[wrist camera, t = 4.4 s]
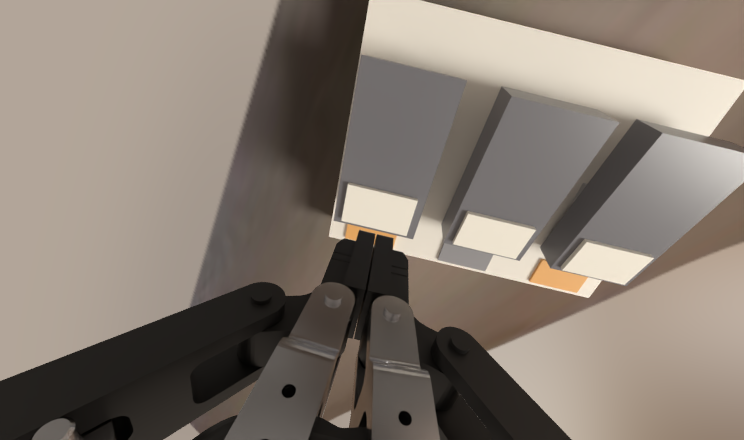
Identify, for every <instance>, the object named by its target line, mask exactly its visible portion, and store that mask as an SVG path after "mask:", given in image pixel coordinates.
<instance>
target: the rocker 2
mask: <svg viewBox="0 0 744 440" xmlns="http://www.w3.org/2000/svg"><path fill="white" fill-rule="evenodd" d="M743 182H744V147H741V146H739V145H737V144H734V143H732V142H729V141H724V140H720V139H716V138H712V137H708V136H704V135H700V134H696V133H692V132H688V131H684V130H679V129H675V128H671V127H667V126H663V125H659V124H655V123H651V122H647V121H643V120H639V119H636V120H635V121H634V123H633V124H632V125H631V127H630V128H629V129H628V131H627V132H626V133H625V135H624V136H623V137H622V139H621V140H620V141H619V143H618V144H617V145H616V147H615V148H614V149H613V151H612V152H611V153H610V155H609V156H608V157H607V159H606V160H605V161H604V163H603V164H602V165H601V167H600V168H599V169H598V171H597V172H596V173H595V175H594V176H593V177H592V179H591V180H590V181H589V183H588V184H587V185H586V187H585V188H584V189H583V190H582V192H581V193H580V194H579V196H578V197H577V198H576V200H575V201H574V202H573V204H572V205H571V206H570V208H569V209H568V210H567V212H566V213H565V214H564V216H563V217H562V218H561V220H560V221H559V222H558V224H557V225H556V226H555V228H554V229H553V230H552V232H551V233H550V234H549V236H548V237H547V238H546V240H545V241H544V242H543V244H542V245H541V246H540V249H541V251H542V253H543V255H544V257H545V259H546V261H547V263H548V265H549V267H550V268H551V269H556V270H560V271H564V272H568V273H573V274H577V275H581V276H585V277H589V278H594V279H598V280H602V281H606V282H611V283H615V284H619V285H623V286H627V285H628V284H629V283H630V282H631V281H632V280H633V279H635V278H636V277H637V276H638V275H639V274H640V273H641V272H642V271H644V270H645V269H646V268H647V267H648V266H649V265H650V264H651V263H653V262H654V261H655V260H656V259H657V258H658V257H659V256H661V255H662V254H663V253H664V252H665V251H666V250H667V249H668V248H670V247H671V246H672V245H673V244H674V243H675V242H676V241H678V240H679V239H680V238H681V237H682V236H683V235H684V234H685V233H687V232H688V231H689V230H690V229H691V228H692V227H693V226H694V225H696V224H697V223H698V222H699V221H700V220H701V219H702V218H704V217H705V216H706V215H707V214H708V213H709V212H710V211H711V210H713V209H714V208H715V207H716V206H717V205H718V204H719V203H721V202H722V201H723V200H724V199H725V198H726V197H727V196H728V195H730V194H731V193H732V192H733V191H734V190H735V189H736V188H737V187H739V186H740V185H741V184H742V183H743Z"/></svg>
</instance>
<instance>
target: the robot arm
mask: <svg viewBox="0 0 744 440" xmlns="http://www.w3.org/2000/svg"><path fill="white" fill-rule="evenodd" d="M374 240H375V243H374ZM393 240H394V238H392V237H387V236H383V235H379V234H377V235H376V239H375V233H370V232H366V231H362V230H359V232H358V236H357V239H356V241H354V240H350V239H346V238H344V239H342V240H341V241H340V242H338V243H337V244H336V247H335V249H334V252H333V255H332V257H331V260H330V262H329V265H328V267H327V270H326V273H325V275H324V278H323V280H322V283H321V285H319V286H317V287H316V288H315V289H314V290H313V292H312V293H310V294H307V295H302V296H285V293H284V291H283V290H282V289H281V288H280V287H279V286H277V285H275V284H273V283H268V282H258V283H253V284H250V285H248V286H245V287H243V288H240V289H237V290H235V291H232V292H230V293H227V294H224V295H222V296H219V297H217V298H214V299H211V300H209V301H206V302H204V303H201V304H199V305H196V306H193V307H191V308H188V309H186V310H183V311H181V312H178V313H175V314H173V315H170V316H168V317H165V318H162V319H160V320H157V321H155V322H152V323H149V324H147V325H144V326H142V327H139V328H136V329H134V330H131V331H129V332H126V333H124V334H121V335H118V336H116V337H113V338H111V339H108V340H105V341H103V342H100V343H98V344H95V345H93V346H90V347H87V348H85V349H83V350H80V351H77V352H75V353H72V354H69V355H67V356H64V357H62V358H59V359H57V360H54V361H51V362H49V363H46V364H43V365H41V366H38V367H36V368H33V369H31V370H28V371H25V372H23V373H20V374H17V375H15V376H13V377H10V378H7V379H5V380H2V381H0V440H163V439H165V438H166V437H168V436H170V435H171V434H173V433H174V432H176V431H177V430H179V429H181V428H182V427H184V426H185V425H187V424H189V423H190V422H192V421H193V420H195V419H196V418H198V417H200V416H201V415H203V414H204V413H206V412H207V411H209V410H211V409H212V408H214V407H215V406H217V405H219V404H220V403H222V402H223V401H225V400H226V399H228V398H230V397H231V396H233V395H234V394H236V393H237V392H239V391H241V390H242V389H244V388H245V387H247V386H249V385H250V384H252V383H253V382H255V381H256V380H257V382H256V384H255V386H254V387H253V389H252V391H251V393H250V394H249V396H248V398H247V400H246V402H245V403H244V405H243V407H242V409H241V411H240V412H239V414H238V415H236V416H233V417H230V418H228V419H225V420H223V421H221V422H219V423H217V424H215V425H213V426H212V427H210V428H208V429H207V430H205V431H204V432H202V433H201V434H199V435H198V436H197V437H195V438H194V439H192V440H571V439H570V438H569V437H568V436H567V435H566V433H564V431H563V430H562V429H561V428H560V427H559V426H558V425H557V424H556V423H555V422H554V421H553V420H552V419H551V418H550V417H549V416H548V415H547V414H546V413H545V412H544V411H543V410H542V409H541V408H540V406H539V405H538V404H537V403H536V402H535V401H534V400H533V399H532V398H531V397H530V396H529V395H528V394H527V393H526V392H525V391H524V390H523V389H522V388H521V387H520V386H519V385H518V384H517V383H516V382H515V381H514V380H513V378H512V377H510V375H509V374H508V373H507V372H506V371H505V370H504V369H503V368H502V367H501V366H500V365H499V364H498V363H497V362H496V361H495V360H494V359H493V358H492V357H491V356H490V355H489V354H488V352H487V351H486V350H485V349H484V348H483V347H482V346H481V345H480V344H479V343H478V342H477V341H476V340H475V339H474V338H473V337H472V336H471V335H470V334H468V333H467V332H465V331H463V330H461V329H459V328H455V327H445V328H442V329H441V330H440V331H439V332H436V331H434V330H432V329H430V328H428V327H426V326H425V325H423V324H422V323H420V322H419V321H418V320H417V319H416V318H415V317H414V314H413V311H412V309H411V307H410V306H409V299H408V260H407V258H406V256H405V255H404V253H403V252H400V251H396V250H393ZM373 246H374V247H373ZM357 320H358V322H357ZM356 323H357V327H356ZM355 327H356V332H355V338H354V339H357V340H360V346H359V351H358V354H357V358H356V363H355V374H354V386H353V397H352V409H351V419H350V425H349V428H339V427H337V426H335V425H333V424H331V423H330V422H328V421H326V420H324V419H323V418H322V416H323V413H324V410H325V406H326V403H327V400H328V397H329V393H330V390H331V387H332V384H333V381H334V378H335V374H336V371H337V368H338V365H339V362H340V358H341V354H342V353H343V352H344V350H345V347H346V343H347V339H348V338H353V334H354V331H355ZM462 397H463V398H462ZM469 406H470V407H469ZM473 411H474V412H473ZM477 416H478V417H477ZM484 425H485V426H484Z"/></svg>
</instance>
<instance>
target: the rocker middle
mask: <svg viewBox="0 0 744 440" xmlns="http://www.w3.org/2000/svg"><path fill="white" fill-rule="evenodd" d="M619 123H620V122H618V121H616V120H615V119H613V118H611V117H610V116H608V115H606V114H605V113H603V112H601V111H600V110H598V109H593V108H589V107H585V106H581V105H577V104H573V103H569V102H565V101H561V100H557V99H553V98H548V97H544V96H540V95H536V94H532V93H528V92H524V91H520V90H516V89H512V88H508V87H503V86H501V89H500V91H499V93H498V96H497V98H496V100H495V102H494V105H493V107H492V109H491V112H490V114H489V116H488V118H487V121H486V123H485V125H484V128H483V130H482V132H481V134H480V137H479V139H478V141H477V143H476V146H475V148H474V150H473V153H472V155H471V157H470V159H469V162H468V164H467V166H466V169H465V171H464V173H463V175H462V178H461V180H460V182H459V185H458V187H457V189H456V191H455V194H454V196H453V198H452V201H451V203H450V205H449V207H448V210H447V212H446V214H445V217H444V219H443V221H442V223H441V226H442V236H443V243H446V244H450V245H454V246H459V247H463V248H467V249H471V250H476V251H480V252H484V253H488V254H492V255H497V256H501V257H505V258H509V259H514V260H518V261H520V260H521V258H522V257H523V256H524V254H525V253H526V251H527V250H528V249H529V247H530V246H531V245H532V243H533V242H534V240H535V239H536V238H537V236H538V235H539V234H540V232H541V231H542V229H543V228H544V227H545V225H546V224H547V222H548V221H549V220H550V218H551V217H552V216H553V214H554V213H555V211H556V210H557V209H558V207H559V206H560V205H561V203H562V202H563V200H564V199H565V198H566V196H567V195H568V193H569V192H570V191H571V189H572V188H573V187H574V185H575V184H576V182H577V181H578V180H579V178H580V177H581V176H582V174H583V173H584V171H585V170H586V169H587V167H588V166H589V164H590V163H591V162H592V160H593V159H594V158H595V156H596V155H597V153H598V152H599V151H600V149H601V148H602V147H603V145H604V144H605V142H606V141H607V140H608V138H609V137H610V135H611V134H612V133H613V131H614V130H615V129H616V127H617V126H618V124H619Z"/></svg>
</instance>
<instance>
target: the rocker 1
mask: <svg viewBox="0 0 744 440" xmlns="http://www.w3.org/2000/svg"><path fill="white" fill-rule="evenodd" d="M466 83H467V80H465V79H462V78H459V77H455V76H451V75H447V74H442V73H438V72H434V71H430V70H426V69H422V68H418V67H414V66H410V65H406V64H401V63H397V62H393V61H389V60H385V59H381V58H377V57H373V56H369V55H361V59H360V65H359V71H358V77H357V83H356V89H355V95H354V101H353V107H352V113H351V119H350V125H349V130H348V136H347V142H346V148H345V154H344V160H343V166H342V172H341V178H340V184H339V190H338V196H337V202H336V208H335V214H334V220H333V221H337V222H341V223H346V224H350V225H354V226H358V227H363V228H367V229H371V230H375V231H379V232H384V233H388V234H392V235H396V236H401V237H405V238H409V239H413V238H414V235H415V232H416V229H417V226H418V223H419V221H420V218H421V215H422V212H423V209H424V206H425V203H426V200H427V197H428V194H429V191H430V188H431V185H432V182H433V179H434V177H435V174H436V171H437V168H438V165H439V162H440V159H441V156H442V153H443V150H444V147H445V144H446V141H447V138H448V136H449V133H450V130H451V127H452V124H453V121H454V118H455V115H456V112H457V109H458V106H459V103H460V100H461V97H462V94H463V92H464V89H465V86H466Z"/></svg>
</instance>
